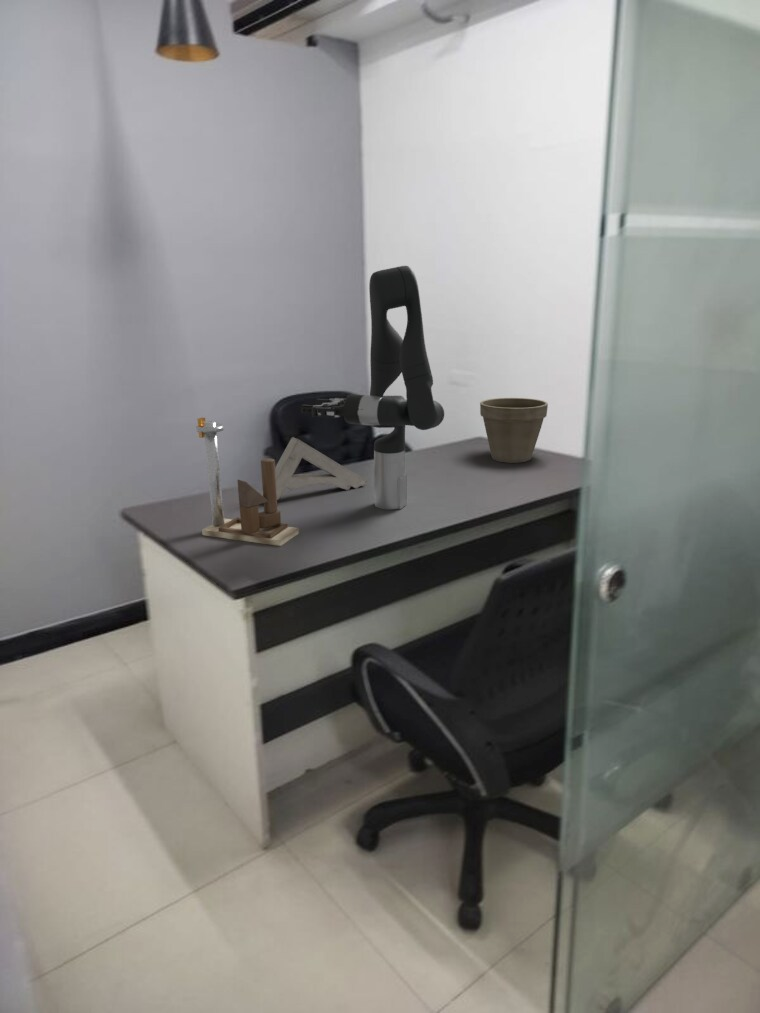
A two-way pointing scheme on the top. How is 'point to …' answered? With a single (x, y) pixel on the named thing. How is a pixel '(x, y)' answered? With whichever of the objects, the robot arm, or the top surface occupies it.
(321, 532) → the top surface
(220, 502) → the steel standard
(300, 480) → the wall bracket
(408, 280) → the robot arm
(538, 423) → the plant pot
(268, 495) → the wooden block
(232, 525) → the seat board
